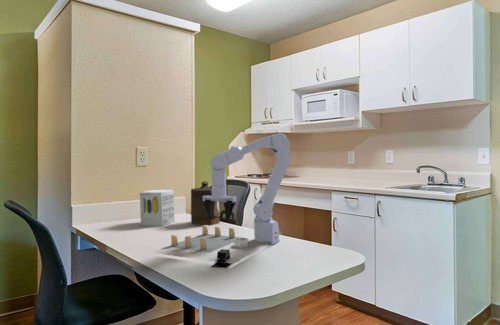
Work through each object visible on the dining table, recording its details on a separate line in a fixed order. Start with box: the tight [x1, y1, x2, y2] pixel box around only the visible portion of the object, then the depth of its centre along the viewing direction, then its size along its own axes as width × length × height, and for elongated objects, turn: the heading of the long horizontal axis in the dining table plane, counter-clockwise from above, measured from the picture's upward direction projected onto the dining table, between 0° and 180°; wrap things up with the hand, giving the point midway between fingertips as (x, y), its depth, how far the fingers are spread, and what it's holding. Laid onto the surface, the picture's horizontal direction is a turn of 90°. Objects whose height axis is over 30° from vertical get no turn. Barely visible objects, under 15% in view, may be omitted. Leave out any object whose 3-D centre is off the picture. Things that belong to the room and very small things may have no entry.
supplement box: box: [139, 189, 176, 227], centre depth 187 cm, size 13×13×18 cm
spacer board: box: [167, 225, 244, 253], centre depth 139 cm, size 20×24×5 cm
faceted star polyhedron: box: [233, 237, 249, 249], centre depth 131 cm, size 6×5×4 cm
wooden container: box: [190, 180, 220, 226], centre depth 185 cm, size 15×15×22 cm
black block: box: [210, 248, 233, 269], centre depth 114 cm, size 12×7×5 cm, turn 163°
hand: (219, 219), depth 138 cm, fingers open, 7 cm apart
